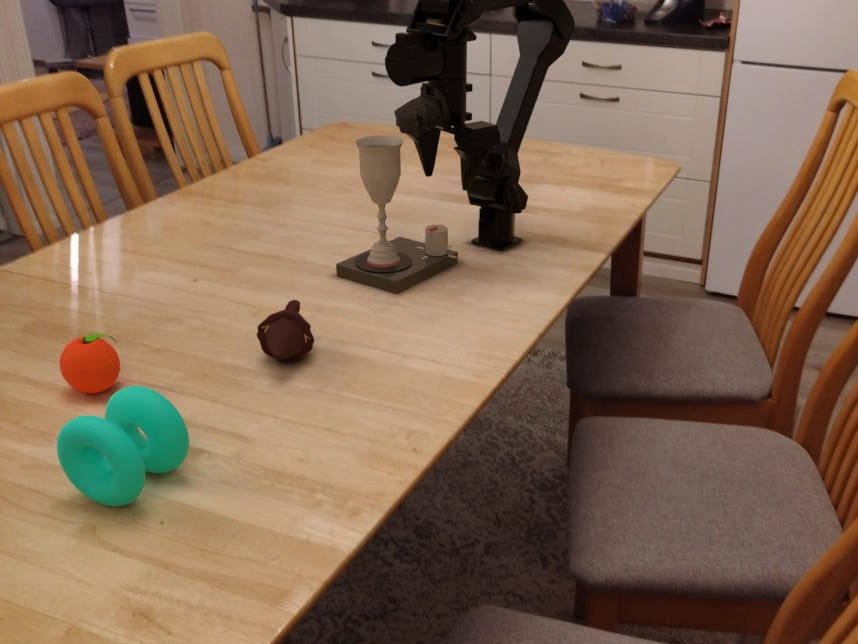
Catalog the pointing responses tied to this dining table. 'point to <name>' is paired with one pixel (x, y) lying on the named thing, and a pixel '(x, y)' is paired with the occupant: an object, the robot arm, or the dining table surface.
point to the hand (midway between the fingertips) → (446, 183)
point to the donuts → (123, 445)
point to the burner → (381, 268)
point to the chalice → (380, 185)
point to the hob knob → (436, 240)
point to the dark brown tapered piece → (286, 334)
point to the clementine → (90, 364)
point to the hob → (404, 279)
